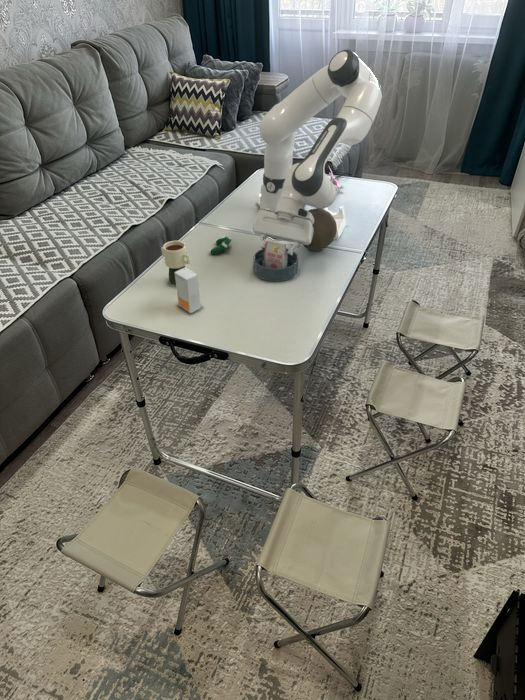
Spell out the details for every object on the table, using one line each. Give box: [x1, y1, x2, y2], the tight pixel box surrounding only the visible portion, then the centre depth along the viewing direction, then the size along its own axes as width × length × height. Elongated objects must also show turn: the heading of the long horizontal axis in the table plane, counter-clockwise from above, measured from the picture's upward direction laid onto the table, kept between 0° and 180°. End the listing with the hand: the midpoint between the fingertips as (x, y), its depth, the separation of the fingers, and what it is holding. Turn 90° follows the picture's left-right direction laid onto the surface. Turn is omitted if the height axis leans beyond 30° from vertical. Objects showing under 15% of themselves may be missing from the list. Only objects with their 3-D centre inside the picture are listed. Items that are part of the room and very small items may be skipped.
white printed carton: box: [264, 239, 288, 269], centre depth 168 cm, size 4×7×10 cm, turn 65°
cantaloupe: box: [301, 207, 337, 252], centre depth 178 cm, size 14×14×15 cm
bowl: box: [252, 247, 300, 282], centre depth 170 cm, size 15×15×5 cm
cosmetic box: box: [175, 267, 202, 314], centre depth 151 cm, size 6×4×12 cm
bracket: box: [323, 204, 347, 240], centre depth 191 cm, size 13×7×8 cm, turn 161°
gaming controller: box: [210, 235, 232, 255], centre depth 182 cm, size 9×4×6 cm
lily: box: [328, 166, 342, 193], centre depth 222 cm, size 12×12×10 cm
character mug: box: [160, 240, 191, 286], centre depth 162 cm, size 11×7×13 cm, turn 60°
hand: (276, 251), depth 167 cm, fingers open, 8 cm apart
